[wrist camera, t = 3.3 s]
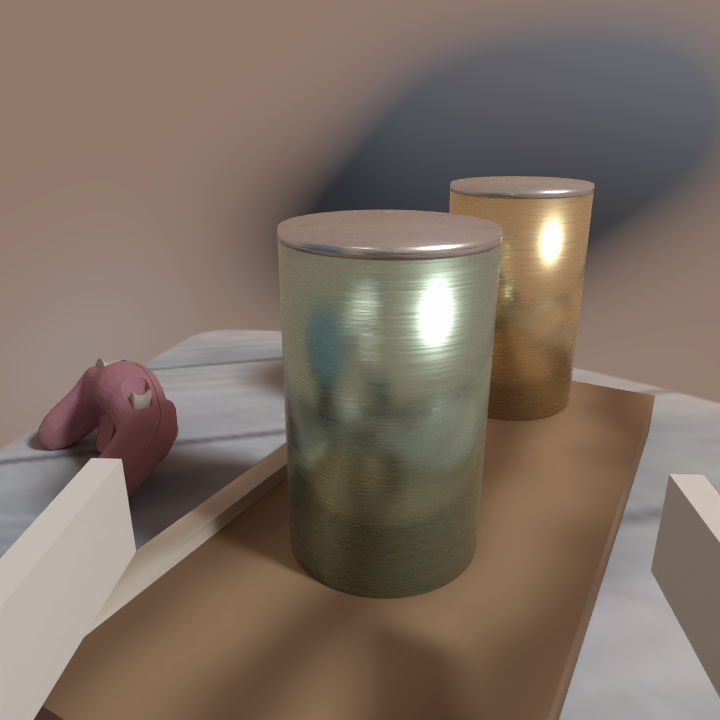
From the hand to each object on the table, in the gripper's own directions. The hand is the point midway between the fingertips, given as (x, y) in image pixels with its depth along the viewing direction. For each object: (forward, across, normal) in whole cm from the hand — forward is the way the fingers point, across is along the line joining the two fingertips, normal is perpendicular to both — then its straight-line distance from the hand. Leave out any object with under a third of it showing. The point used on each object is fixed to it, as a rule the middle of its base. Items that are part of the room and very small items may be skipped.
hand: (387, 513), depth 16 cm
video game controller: (+18, -16, -10) cm, 25 cm away
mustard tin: (+23, +6, -7) cm, 25 cm away
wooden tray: (+12, +2, -9) cm, 15 cm away
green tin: (+9, 0, -7) cm, 11 cm away
